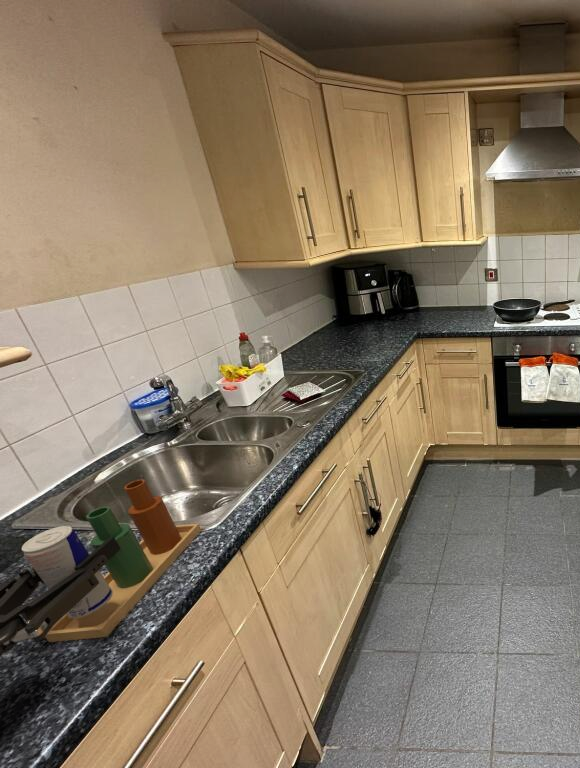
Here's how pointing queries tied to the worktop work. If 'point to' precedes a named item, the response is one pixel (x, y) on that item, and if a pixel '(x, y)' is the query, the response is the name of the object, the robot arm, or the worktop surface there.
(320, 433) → the worktop surface
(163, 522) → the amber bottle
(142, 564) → the green bottle
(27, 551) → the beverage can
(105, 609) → the tray
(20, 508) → the worktop surface
